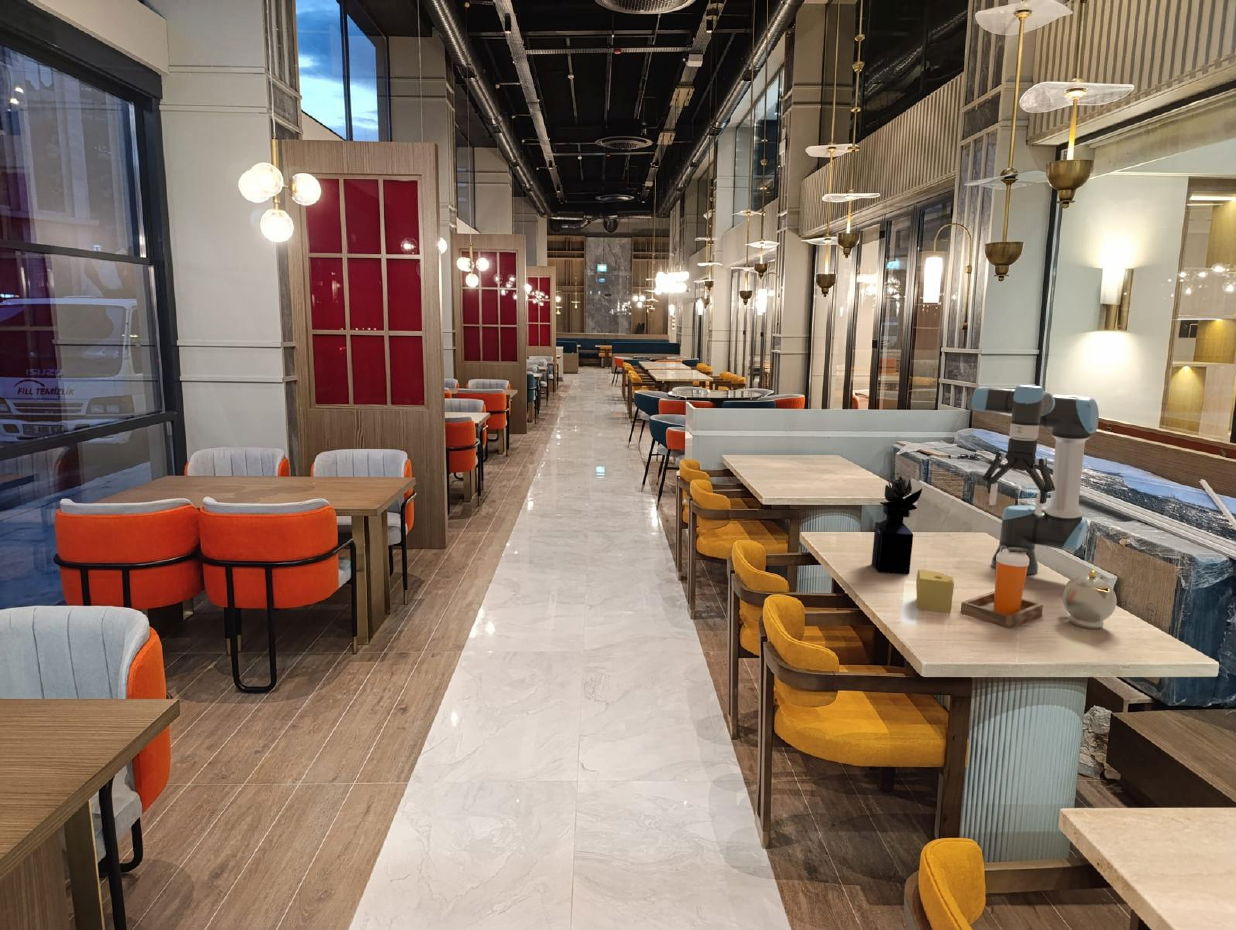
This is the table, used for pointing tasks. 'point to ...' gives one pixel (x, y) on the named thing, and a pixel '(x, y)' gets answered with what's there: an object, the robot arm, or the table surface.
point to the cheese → (934, 591)
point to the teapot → (1089, 601)
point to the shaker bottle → (1010, 579)
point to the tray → (984, 611)
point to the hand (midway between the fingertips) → (1014, 509)
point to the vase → (895, 530)
